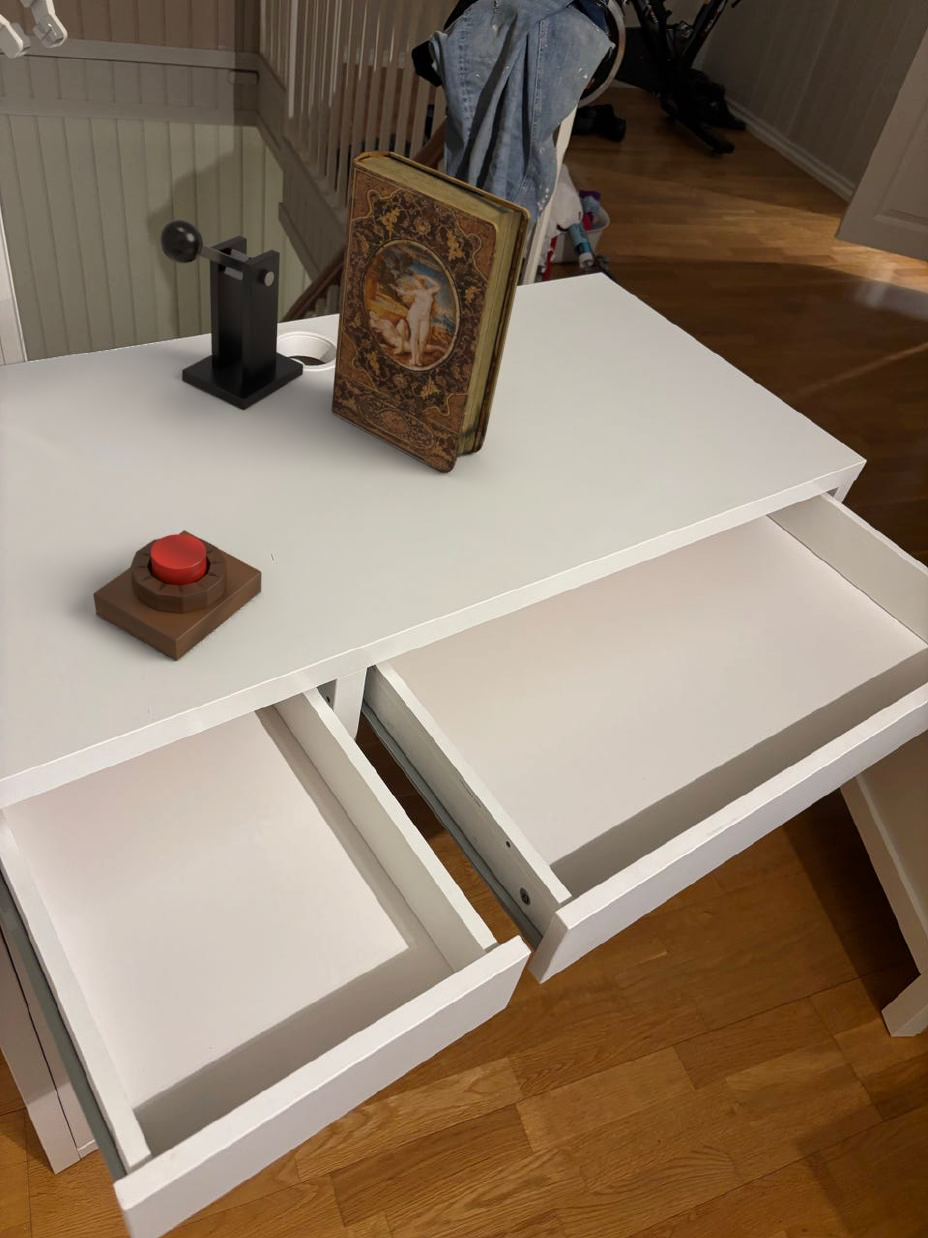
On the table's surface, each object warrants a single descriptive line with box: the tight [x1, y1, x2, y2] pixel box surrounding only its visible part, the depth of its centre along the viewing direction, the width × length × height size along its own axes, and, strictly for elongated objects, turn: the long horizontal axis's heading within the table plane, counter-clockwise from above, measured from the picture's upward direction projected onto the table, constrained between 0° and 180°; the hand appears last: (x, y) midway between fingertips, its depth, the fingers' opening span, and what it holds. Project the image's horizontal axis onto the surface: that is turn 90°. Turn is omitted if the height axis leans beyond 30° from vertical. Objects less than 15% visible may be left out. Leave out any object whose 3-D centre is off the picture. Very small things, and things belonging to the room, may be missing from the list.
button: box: [151, 533, 206, 585], centre depth 72 cm, size 4×4×2 cm
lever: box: [159, 218, 253, 281], centre depth 87 cm, size 13×4×4 cm, turn 151°
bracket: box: [181, 235, 304, 411], centre depth 95 cm, size 10×8×14 cm
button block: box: [92, 529, 263, 661], centre depth 74 cm, size 10×8×4 cm
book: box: [331, 150, 531, 474], centre depth 89 cm, size 16×6×25 cm, turn 56°
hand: (40, 47), depth 76 cm, fingers open, 3 cm apart
